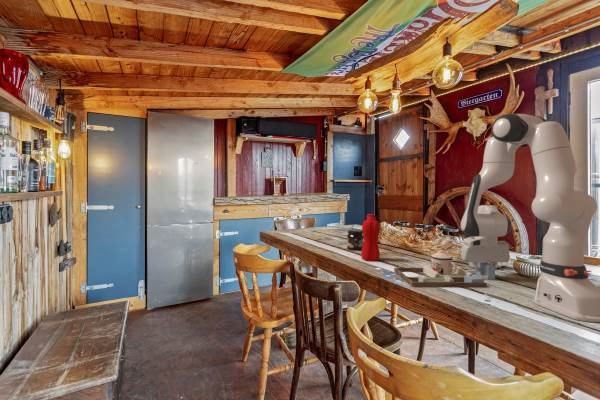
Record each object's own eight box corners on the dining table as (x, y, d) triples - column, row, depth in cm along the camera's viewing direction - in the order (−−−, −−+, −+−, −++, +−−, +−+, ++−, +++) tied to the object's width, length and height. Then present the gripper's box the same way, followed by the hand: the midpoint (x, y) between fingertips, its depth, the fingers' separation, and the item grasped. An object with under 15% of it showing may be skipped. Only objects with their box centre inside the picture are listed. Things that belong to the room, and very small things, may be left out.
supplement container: (343, 248, 205) (343, 229, 205) (357, 247, 210) (357, 229, 209) (352, 251, 196) (353, 232, 195) (366, 250, 200) (367, 231, 200)
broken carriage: (485, 286, 128) (485, 279, 128) (423, 285, 128) (423, 279, 128) (477, 282, 134) (477, 275, 133) (418, 281, 133) (418, 275, 133)
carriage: (497, 280, 135) (498, 267, 135) (435, 280, 135) (435, 266, 135) (479, 272, 149) (479, 259, 149) (422, 272, 149) (423, 259, 149)
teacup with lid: (425, 274, 145) (426, 249, 144) (439, 272, 149) (440, 247, 148) (448, 281, 134) (449, 254, 134) (462, 278, 138) (463, 252, 138)
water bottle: (384, 261, 169) (384, 214, 168) (363, 261, 169) (364, 214, 168) (379, 257, 178) (380, 213, 177) (360, 257, 179) (361, 213, 178)
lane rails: (486, 287, 127) (486, 283, 127) (411, 286, 127) (412, 282, 127) (457, 271, 150) (457, 268, 150) (394, 271, 150) (394, 267, 150)
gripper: (504, 239, 145) (503, 269, 145) (459, 239, 145) (458, 269, 145) (513, 242, 138) (512, 273, 139) (467, 241, 138) (466, 273, 139)
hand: (484, 271), depth 142 cm, fingers open, 5 cm apart
